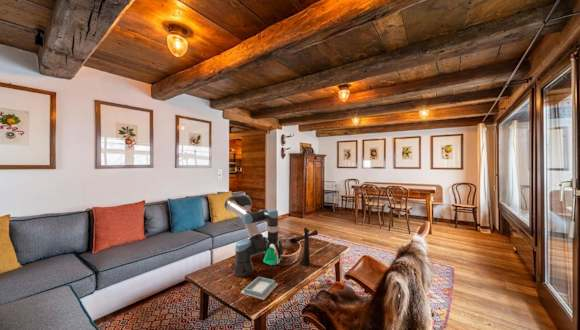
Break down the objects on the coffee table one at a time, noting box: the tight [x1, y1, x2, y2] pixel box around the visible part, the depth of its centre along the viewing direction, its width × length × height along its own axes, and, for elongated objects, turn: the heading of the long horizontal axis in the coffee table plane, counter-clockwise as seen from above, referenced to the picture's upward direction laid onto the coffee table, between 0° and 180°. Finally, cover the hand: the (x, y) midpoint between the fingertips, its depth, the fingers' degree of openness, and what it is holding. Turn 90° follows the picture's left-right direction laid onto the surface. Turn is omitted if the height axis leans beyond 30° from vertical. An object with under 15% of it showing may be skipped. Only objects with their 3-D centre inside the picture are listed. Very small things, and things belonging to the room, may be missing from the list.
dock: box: [240, 275, 279, 301], centre depth 149 cm, size 17×18×3 cm
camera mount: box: [263, 246, 282, 266], centre depth 166 cm, size 12×8×10 cm, turn 143°
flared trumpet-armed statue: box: [289, 227, 319, 267], centre depth 185 cm, size 31×10×30 cm, turn 135°
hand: (272, 261), depth 166 cm, fingers closed on camera mount, 9 cm apart
